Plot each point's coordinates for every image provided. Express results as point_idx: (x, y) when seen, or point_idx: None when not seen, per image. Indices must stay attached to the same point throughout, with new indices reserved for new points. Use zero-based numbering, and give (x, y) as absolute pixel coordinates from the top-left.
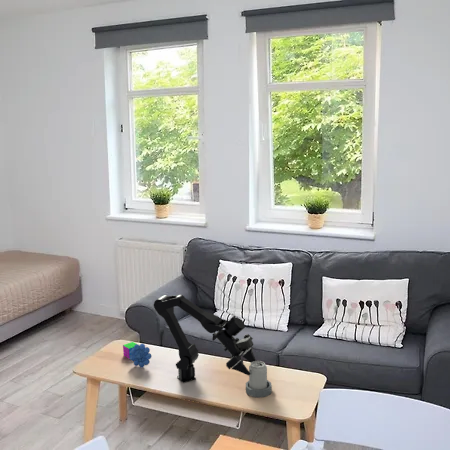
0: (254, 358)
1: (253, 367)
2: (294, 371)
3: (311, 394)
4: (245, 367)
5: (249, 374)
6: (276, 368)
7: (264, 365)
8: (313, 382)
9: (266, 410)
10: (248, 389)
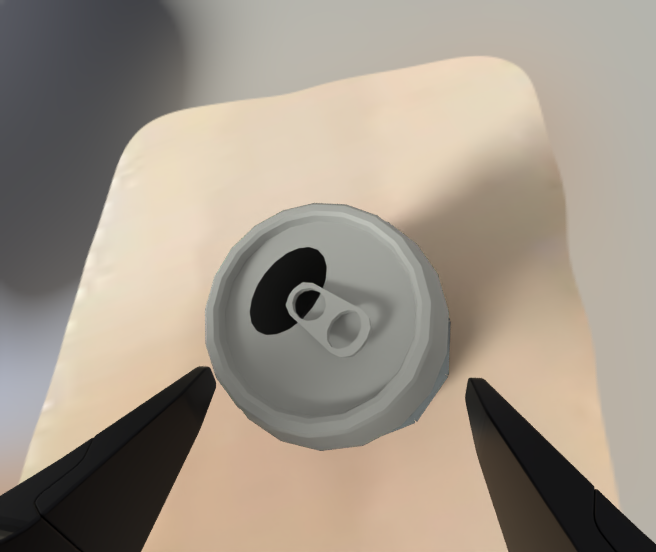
0: (127, 428)
1: (420, 346)
2: (109, 231)
3: (303, 101)
4: (568, 493)
5: (483, 387)
6: (81, 324)
7: (326, 204)
8: (199, 129)
9: (557, 219)
10: (437, 389)
